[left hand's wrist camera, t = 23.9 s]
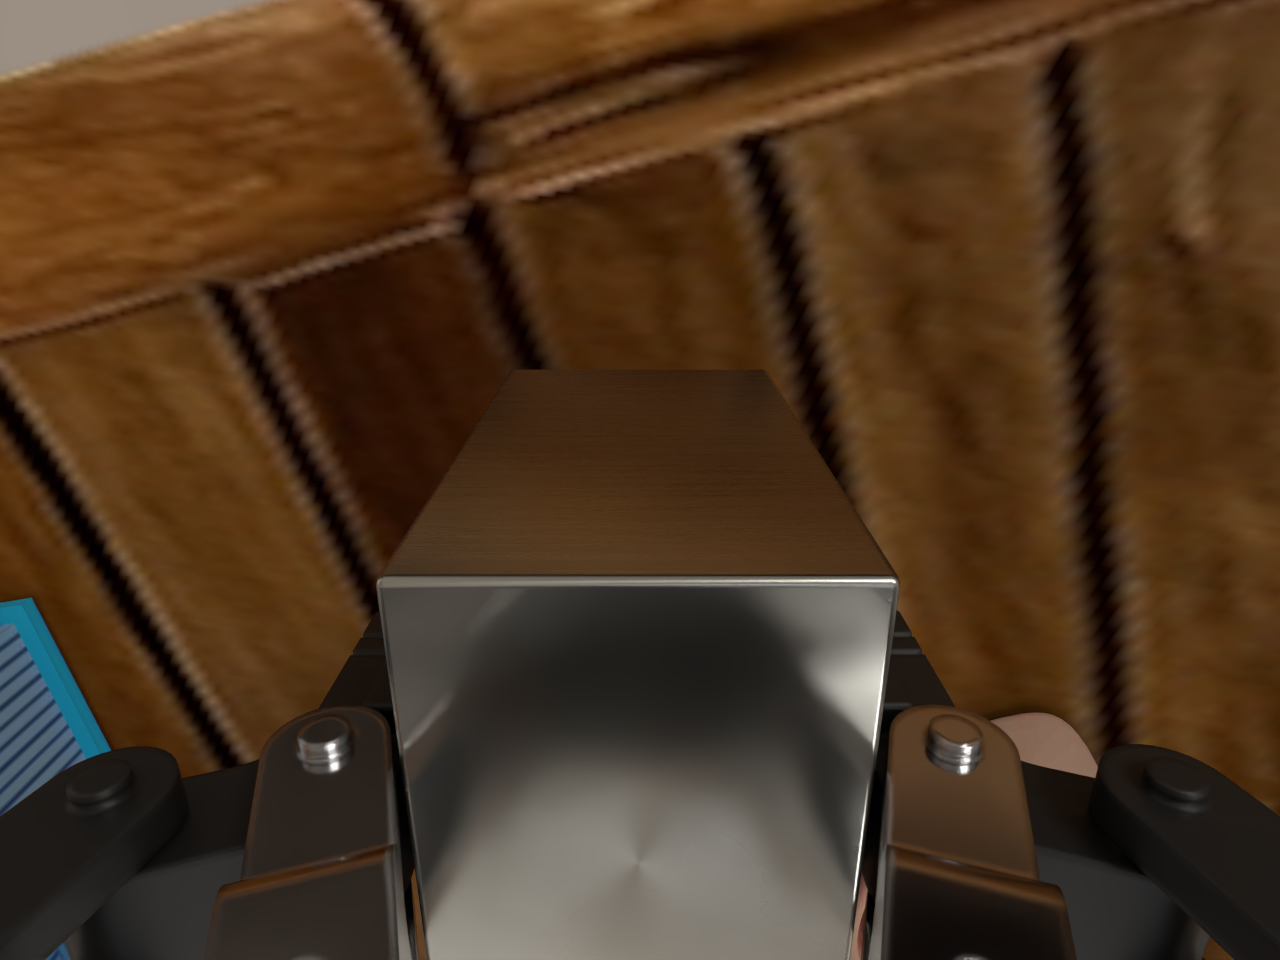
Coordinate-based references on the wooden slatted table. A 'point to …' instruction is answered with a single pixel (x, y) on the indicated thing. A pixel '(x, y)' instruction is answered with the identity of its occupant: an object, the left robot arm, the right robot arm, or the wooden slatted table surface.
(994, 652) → the wooden slatted table surface
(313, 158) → the wooden slatted table surface
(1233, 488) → the wooden slatted table surface
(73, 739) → the model building
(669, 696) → the block
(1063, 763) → the anatomical model
